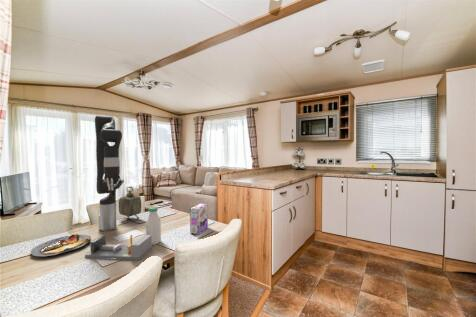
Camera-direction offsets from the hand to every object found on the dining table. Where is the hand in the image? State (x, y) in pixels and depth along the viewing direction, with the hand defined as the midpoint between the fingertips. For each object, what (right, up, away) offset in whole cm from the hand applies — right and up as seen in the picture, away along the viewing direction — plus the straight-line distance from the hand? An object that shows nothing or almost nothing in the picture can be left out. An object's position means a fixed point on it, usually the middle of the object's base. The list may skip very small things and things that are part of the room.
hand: (112, 196), depth 117 cm
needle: (+15, -26, -10) cm, 31 cm away
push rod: (+2, -26, -8) cm, 27 cm away
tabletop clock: (-13, -26, +44) cm, 52 cm away
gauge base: (+9, -27, -9) cm, 30 cm away
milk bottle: (+21, -27, +4) cm, 35 cm away
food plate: (-25, -28, -2) cm, 38 cm away
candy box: (+44, -27, +22) cm, 56 cm away
